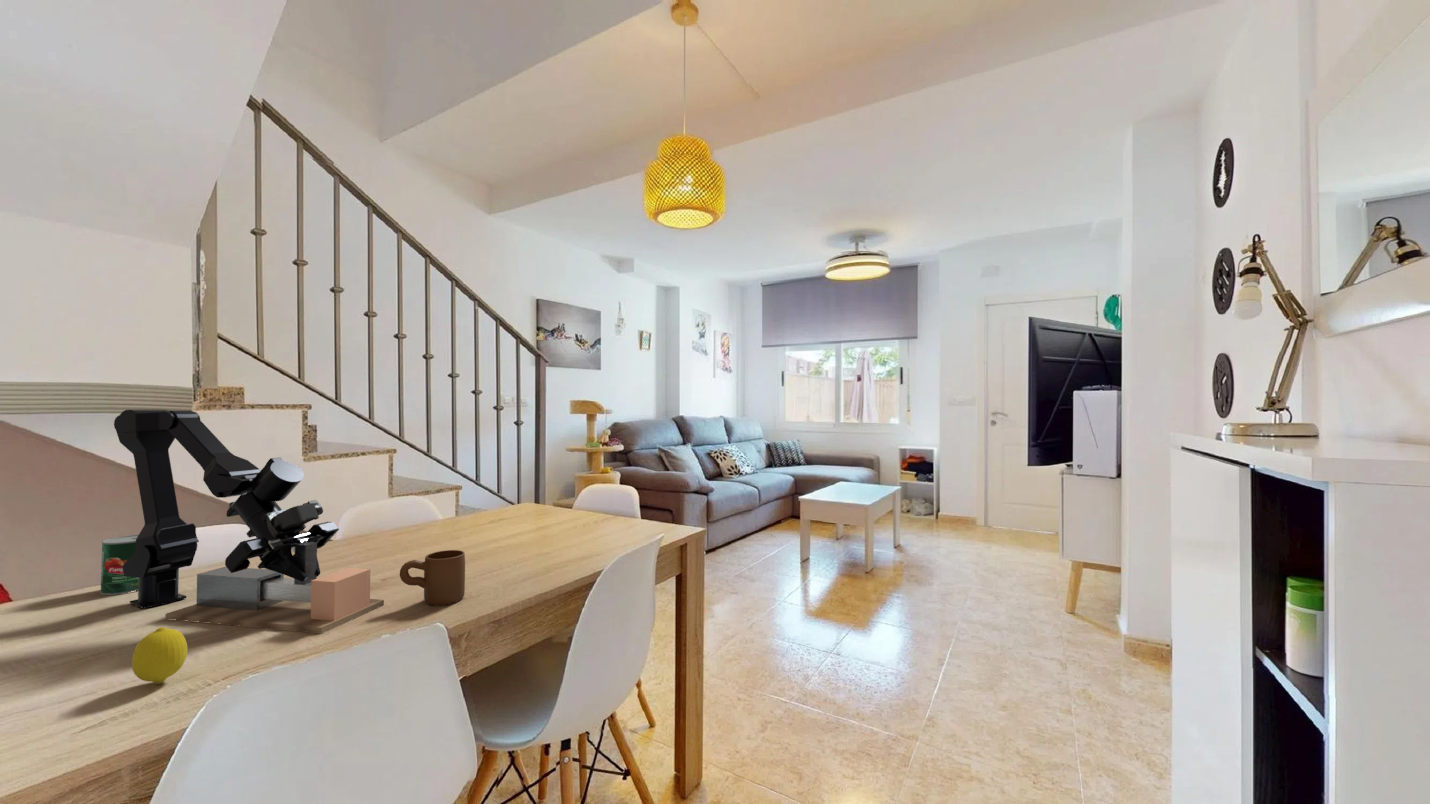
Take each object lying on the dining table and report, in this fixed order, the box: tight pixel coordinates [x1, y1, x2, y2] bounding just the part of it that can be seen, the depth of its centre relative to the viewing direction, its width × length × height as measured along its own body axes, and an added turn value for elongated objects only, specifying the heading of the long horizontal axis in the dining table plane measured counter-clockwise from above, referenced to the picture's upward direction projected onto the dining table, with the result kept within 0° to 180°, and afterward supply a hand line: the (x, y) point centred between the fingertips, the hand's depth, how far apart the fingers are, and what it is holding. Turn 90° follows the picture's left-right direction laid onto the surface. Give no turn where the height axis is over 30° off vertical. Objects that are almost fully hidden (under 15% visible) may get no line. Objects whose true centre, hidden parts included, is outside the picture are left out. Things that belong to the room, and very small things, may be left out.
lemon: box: [131, 626, 188, 685], centre depth 77 cm, size 6×6×8 cm
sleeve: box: [195, 566, 285, 611], centre depth 105 cm, size 14×5×6 cm, turn 80°
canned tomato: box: [99, 534, 139, 596], centre depth 116 cm, size 8×8×11 cm
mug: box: [399, 549, 466, 606], centre depth 110 cm, size 12×8×9 cm, turn 128°
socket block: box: [311, 567, 371, 621], centre depth 101 cm, size 5×8×7 cm, turn 170°
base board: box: [164, 598, 385, 634], centre depth 104 cm, size 34×14×1 cm, turn 80°
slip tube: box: [260, 542, 318, 603], centre depth 104 cm, size 23×3×11 cm, turn 80°
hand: (311, 577), depth 103 cm, fingers closed on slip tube, 2 cm apart
